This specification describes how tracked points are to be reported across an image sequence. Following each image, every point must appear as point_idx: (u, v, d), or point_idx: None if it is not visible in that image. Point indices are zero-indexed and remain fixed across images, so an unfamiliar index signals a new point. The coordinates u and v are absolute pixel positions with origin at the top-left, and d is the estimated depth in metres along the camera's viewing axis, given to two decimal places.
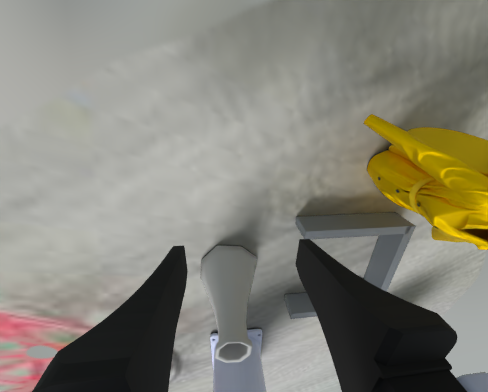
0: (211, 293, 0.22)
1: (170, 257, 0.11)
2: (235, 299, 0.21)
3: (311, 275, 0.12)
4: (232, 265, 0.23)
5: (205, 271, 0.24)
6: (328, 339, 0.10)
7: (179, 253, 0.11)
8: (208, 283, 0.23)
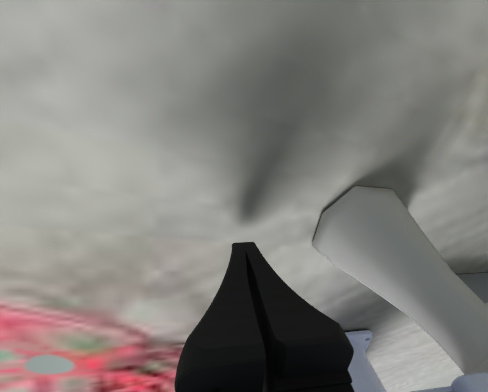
0: (374, 263, 0.12)
1: (237, 253, 0.11)
2: (448, 271, 0.10)
3: (248, 280, 0.11)
4: (400, 215, 0.13)
5: (340, 228, 0.14)
6: None
7: (244, 249, 0.12)
8: (356, 247, 0.13)
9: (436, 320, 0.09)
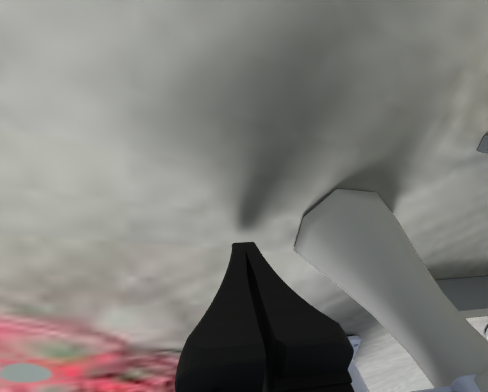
0: (352, 271, 0.11)
1: (237, 253, 0.11)
2: (428, 281, 0.10)
3: (248, 280, 0.11)
4: (382, 220, 0.12)
5: (321, 233, 0.13)
6: None
7: (244, 249, 0.12)
8: (336, 253, 0.12)
9: (413, 335, 0.08)
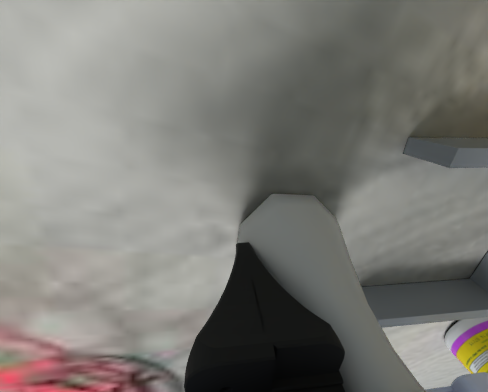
0: None
1: (242, 253, 0.11)
2: (348, 293, 0.09)
3: None
4: (314, 226, 0.11)
5: (254, 243, 0.12)
6: None
7: (248, 249, 0.12)
8: (266, 264, 0.11)
9: None
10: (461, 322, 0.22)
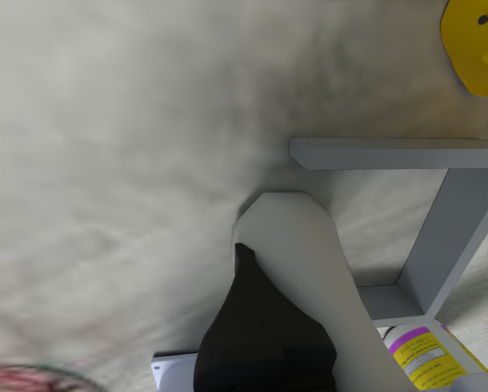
0: None
1: (246, 253, 0.11)
2: (340, 291, 0.09)
3: None
4: (305, 224, 0.11)
5: (246, 243, 0.12)
6: None
7: None
8: (259, 265, 0.11)
9: None
10: (396, 328, 0.21)
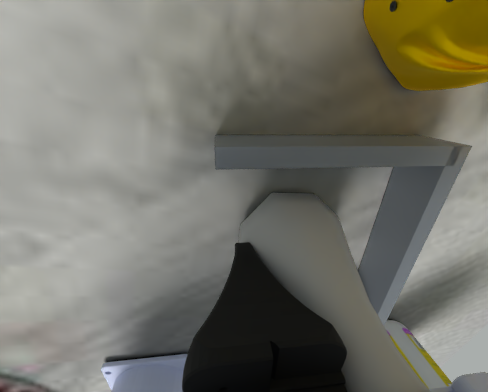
0: (281, 283, 0.10)
1: (241, 253, 0.11)
2: (350, 292, 0.09)
3: None
4: (314, 225, 0.11)
5: (254, 242, 0.12)
6: None
7: (247, 249, 0.12)
8: (267, 264, 0.11)
9: None
10: None
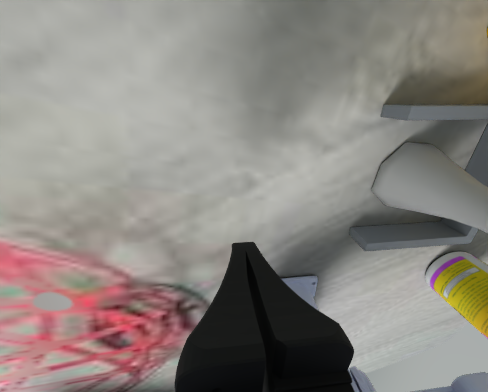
0: (427, 188, 0.18)
1: (237, 253, 0.11)
2: (480, 184, 0.16)
3: (248, 280, 0.11)
4: (442, 158, 0.19)
5: (398, 171, 0.20)
6: None
7: (244, 249, 0.12)
8: (412, 181, 0.19)
9: (475, 209, 0.15)
10: (437, 260, 0.28)
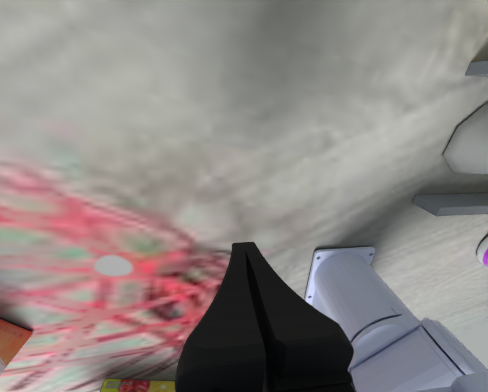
0: None
1: (237, 253, 0.11)
2: None
3: (248, 280, 0.11)
4: None
5: (479, 132, 0.20)
6: None
7: (244, 249, 0.12)
8: None
9: None
10: None
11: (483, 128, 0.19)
